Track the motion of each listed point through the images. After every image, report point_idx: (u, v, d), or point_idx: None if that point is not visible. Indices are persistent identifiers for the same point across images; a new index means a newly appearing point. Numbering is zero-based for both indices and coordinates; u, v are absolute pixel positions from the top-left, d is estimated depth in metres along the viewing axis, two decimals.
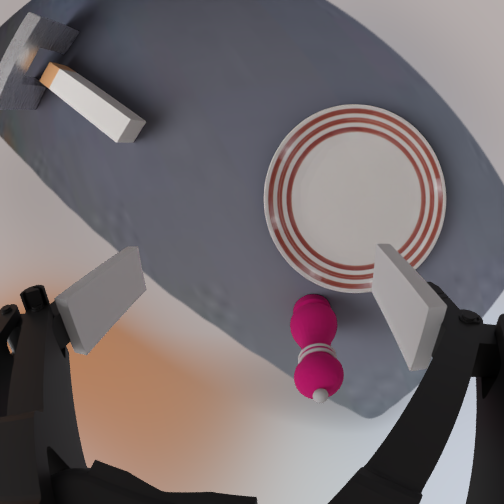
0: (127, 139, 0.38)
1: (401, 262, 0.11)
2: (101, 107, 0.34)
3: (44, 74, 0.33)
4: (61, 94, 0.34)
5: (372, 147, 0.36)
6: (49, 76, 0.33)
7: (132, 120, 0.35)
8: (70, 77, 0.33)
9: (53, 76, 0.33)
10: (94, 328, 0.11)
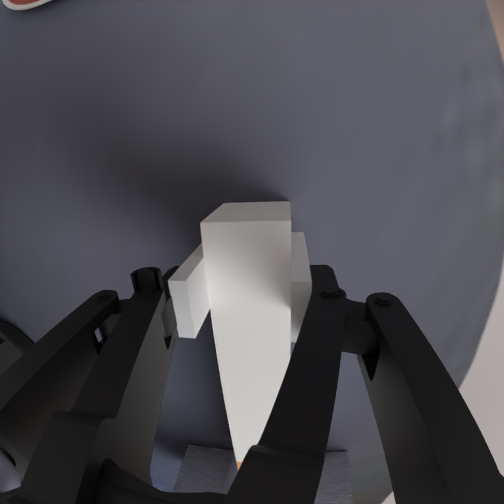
0: (279, 209, 0.15)
1: (299, 247, 0.14)
2: (235, 335, 0.15)
3: None
4: None
5: None
6: None
7: (206, 219, 0.13)
8: (234, 438, 0.18)
9: None
10: (200, 311, 0.12)
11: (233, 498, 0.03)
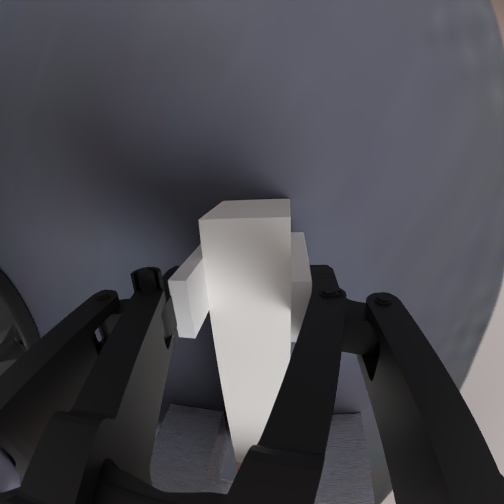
0: (278, 206, 0.14)
1: (299, 247, 0.14)
2: (234, 334, 0.14)
3: None
4: None
5: None
6: None
7: (205, 216, 0.13)
8: (234, 438, 0.18)
9: None
10: (200, 311, 0.12)
11: (233, 498, 0.03)
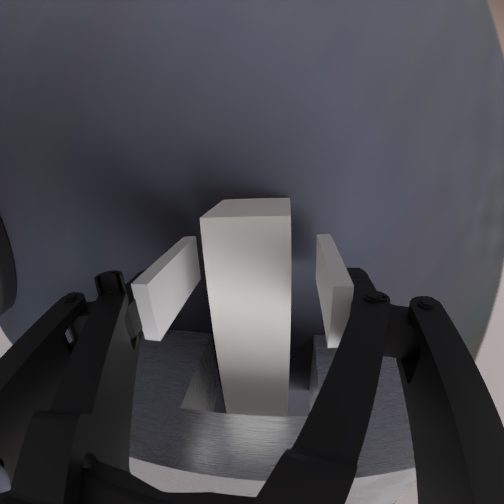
0: (279, 205, 0.15)
1: (330, 249, 0.13)
2: (235, 332, 0.14)
3: None
4: None
5: None
6: None
7: (206, 215, 0.13)
8: None
9: None
10: (166, 314, 0.12)
11: (261, 502, 0.03)
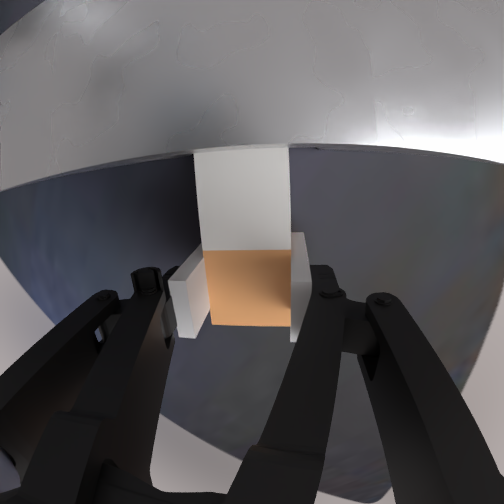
0: None
1: (299, 247, 0.14)
2: None
3: (259, 317, 0.14)
4: (274, 153, 0.11)
5: None
6: (253, 284, 0.13)
7: None
8: (198, 161, 0.12)
9: (241, 262, 0.13)
10: (200, 311, 0.12)
11: (233, 498, 0.03)
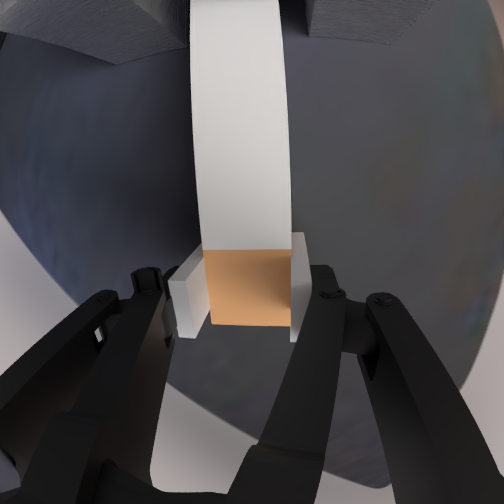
0: None
1: (299, 247, 0.14)
2: None
3: (259, 316, 0.14)
4: (275, 153, 0.11)
5: None
6: (253, 283, 0.13)
7: None
8: (199, 160, 0.12)
9: (241, 262, 0.13)
10: (200, 311, 0.12)
11: (233, 498, 0.03)
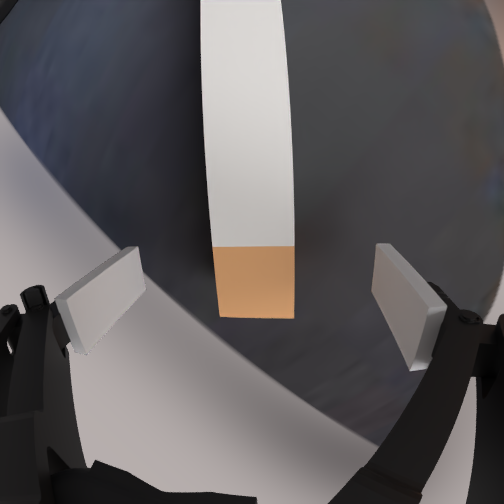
0: None
1: (401, 262, 0.11)
2: None
3: (264, 309, 0.15)
4: (279, 158, 0.12)
5: None
6: (259, 278, 0.14)
7: None
8: (209, 164, 0.13)
9: (248, 258, 0.14)
10: (94, 328, 0.11)
11: None
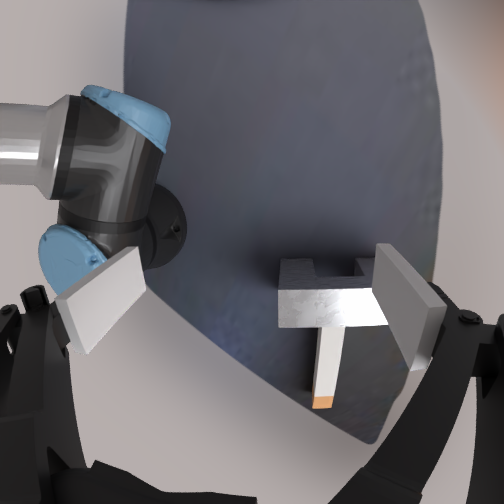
0: None
1: (401, 262, 0.11)
2: (326, 344, 0.47)
3: (324, 406, 0.53)
4: (333, 382, 0.50)
5: None
6: (324, 401, 0.52)
7: None
8: (316, 383, 0.51)
9: (322, 398, 0.52)
10: (94, 328, 0.11)
11: None
